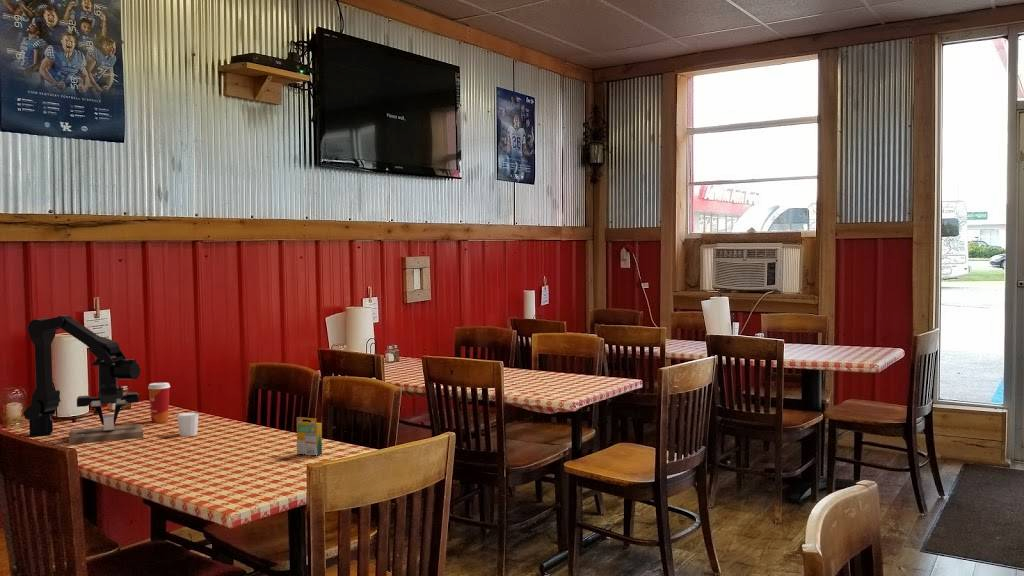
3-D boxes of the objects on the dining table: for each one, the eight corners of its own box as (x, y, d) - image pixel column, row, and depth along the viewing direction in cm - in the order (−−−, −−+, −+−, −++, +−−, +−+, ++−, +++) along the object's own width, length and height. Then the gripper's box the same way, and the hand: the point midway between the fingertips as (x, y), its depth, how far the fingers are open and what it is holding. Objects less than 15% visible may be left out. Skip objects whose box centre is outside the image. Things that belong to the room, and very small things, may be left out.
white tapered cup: (202, 432, 282) (202, 412, 282) (192, 436, 275) (192, 416, 275) (183, 432, 283) (183, 411, 283) (173, 436, 276) (173, 415, 276)
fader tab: (103, 431, 273) (103, 417, 272) (103, 428, 278) (103, 414, 278) (113, 430, 274) (113, 417, 274) (113, 427, 279) (113, 414, 279)
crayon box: (322, 454, 251) (322, 416, 250) (317, 456, 248) (316, 418, 247) (302, 452, 253) (301, 415, 253) (296, 454, 250) (296, 417, 250)
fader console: (68, 444, 264) (68, 438, 264) (69, 436, 277) (69, 429, 277) (143, 437, 275) (143, 431, 274) (140, 429, 287) (140, 423, 287)
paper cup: (149, 420, 303) (149, 382, 303) (172, 418, 306) (171, 381, 305) (147, 424, 296) (146, 386, 295) (170, 423, 298) (169, 384, 298)
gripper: (75, 384, 264) (76, 432, 265) (139, 380, 272) (140, 426, 273) (76, 379, 274) (77, 425, 274) (137, 375, 282) (138, 420, 283)
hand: (108, 424), depth 276 cm, fingers closed on fader tab, 3 cm apart
